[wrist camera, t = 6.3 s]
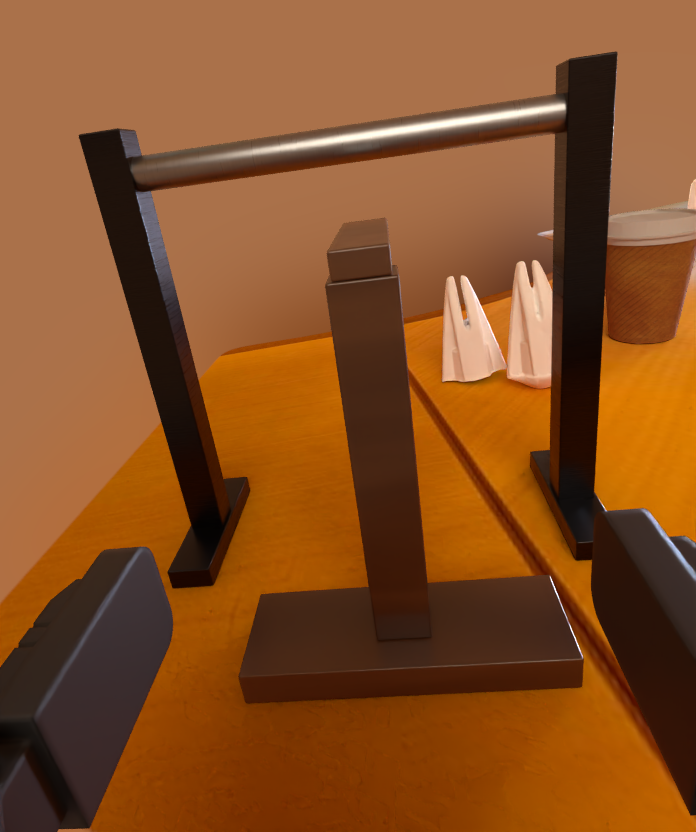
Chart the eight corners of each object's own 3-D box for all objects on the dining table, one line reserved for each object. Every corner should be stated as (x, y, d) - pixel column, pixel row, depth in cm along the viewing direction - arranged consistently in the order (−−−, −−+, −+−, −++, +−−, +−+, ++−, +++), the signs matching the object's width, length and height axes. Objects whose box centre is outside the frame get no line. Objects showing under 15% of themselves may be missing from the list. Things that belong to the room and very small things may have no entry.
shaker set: (580, 380, 51) (585, 254, 47) (565, 398, 48) (569, 265, 44) (458, 367, 58) (452, 257, 54) (439, 382, 55) (431, 266, 51)
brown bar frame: (582, 688, 23) (606, 223, 16) (245, 704, 24) (125, 283, 17) (525, 537, 32) (524, 199, 25) (282, 555, 33) (213, 240, 26)
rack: (172, 589, 32) (24, 131, 23) (218, 493, 41) (126, 139, 32) (623, 558, 30) (666, 31, 20) (566, 463, 39) (577, 70, 29)
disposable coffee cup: (717, 337, 56) (734, 209, 52) (632, 355, 55) (642, 226, 50) (648, 316, 65) (658, 206, 60) (573, 332, 63) (577, 220, 59)
